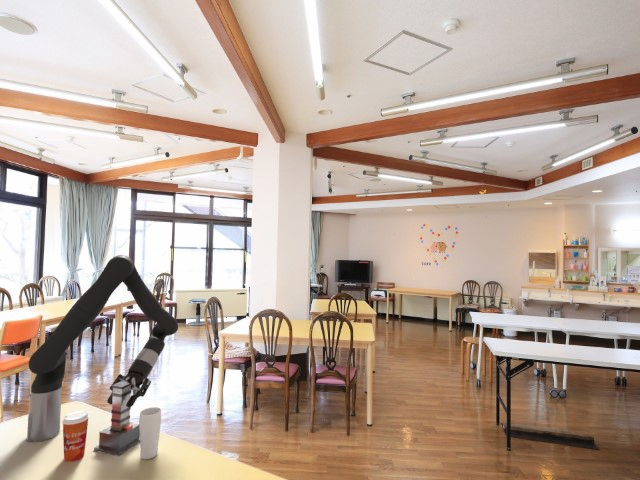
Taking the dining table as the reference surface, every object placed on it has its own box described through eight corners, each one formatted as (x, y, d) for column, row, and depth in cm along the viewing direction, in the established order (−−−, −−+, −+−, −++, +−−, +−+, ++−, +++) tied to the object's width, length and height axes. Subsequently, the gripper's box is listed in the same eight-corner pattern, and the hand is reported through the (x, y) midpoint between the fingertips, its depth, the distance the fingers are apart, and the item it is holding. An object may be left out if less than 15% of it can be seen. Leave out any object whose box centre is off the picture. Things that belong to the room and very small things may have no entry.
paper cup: (57, 466, 112) (60, 422, 113) (62, 454, 119) (64, 412, 120) (86, 460, 116) (88, 417, 117) (89, 448, 123) (91, 408, 123)
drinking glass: (151, 462, 115) (152, 416, 116) (133, 460, 117) (135, 414, 117) (164, 451, 122) (165, 408, 122) (147, 449, 123) (148, 406, 124)
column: (120, 434, 123) (122, 387, 123) (109, 432, 124) (111, 385, 125) (130, 428, 127) (132, 382, 128) (120, 426, 128) (122, 380, 129)
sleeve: (119, 456, 119) (119, 434, 119) (94, 450, 122) (94, 429, 122) (143, 439, 129) (144, 420, 129) (120, 434, 132) (120, 415, 132)
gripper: (124, 356, 136) (96, 397, 124) (154, 360, 132) (128, 403, 120) (134, 366, 141) (108, 406, 129) (163, 370, 137) (140, 412, 125)
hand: (118, 405), depth 125 cm, fingers open, 8 cm apart
